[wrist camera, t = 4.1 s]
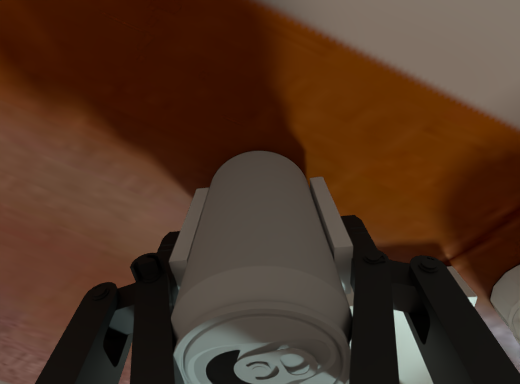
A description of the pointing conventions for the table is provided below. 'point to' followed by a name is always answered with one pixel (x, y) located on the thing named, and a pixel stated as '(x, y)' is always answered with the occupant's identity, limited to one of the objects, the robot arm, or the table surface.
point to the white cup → (508, 300)
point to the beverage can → (261, 284)
